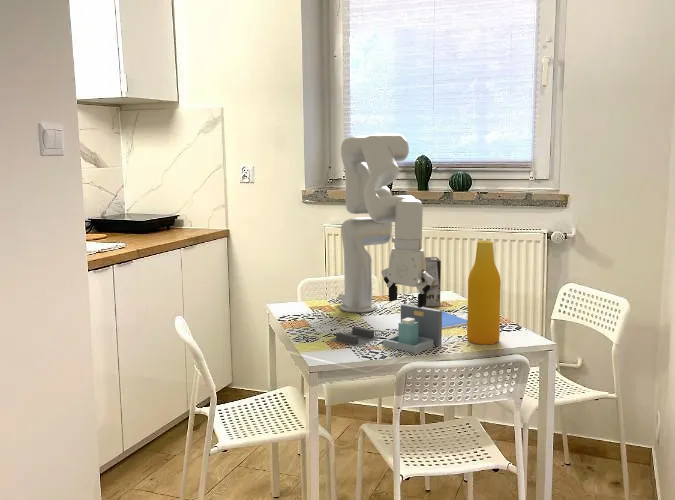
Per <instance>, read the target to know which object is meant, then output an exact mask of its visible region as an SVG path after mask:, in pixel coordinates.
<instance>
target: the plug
mask: <svg viewBox="0 0 675 500" xmlns="http://www.w3.org/2000/svg"><path fill="white" fill-rule="evenodd" d="M397 327H398V328H397V330H398V336H399V341H398V342H401V343H405V344H410V345H417V344H419V343H418V322H415V319H414V318H405V319H403V320H402V322H401V321H400V322H398V326H397Z"/></svg>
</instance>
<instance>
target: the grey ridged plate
mask: <svg viewBox="0 0 675 500" xmlns="http://www.w3.org/2000/svg"><path fill="white" fill-rule="evenodd" d="M381 338H382V337H380V336H377V335H375V330H374V329H370V328H365V327H364V328H363V327H361V326H360V327H359V326H353V327H351V331H349V332H341V331H339V332H336V333H335V337H332V338H330V339H329V341H331V342H335V343H341V344H346V345H348V346H353V347H362V346H363V345H367V344H370V343H371V342H375V341H376V340H379V339H381Z"/></svg>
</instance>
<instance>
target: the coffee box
mask: <svg viewBox="0 0 675 500" xmlns="http://www.w3.org/2000/svg"><path fill="white" fill-rule="evenodd" d="M425 263H426V272H427V273H428V274H429V275H431V276H432V277H433V278H434V279H435V283H434V284H433V286H432V288H431V289H430V290H429V291H428V292H427V301H426V305H425V306H424V307H440V306H441V275H442V274H441V270H442V265H441V264H442V260H441V259H439V257H437V256H425ZM427 283H428V281H427V280H426V281H425V284H426V285H427Z"/></svg>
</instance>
